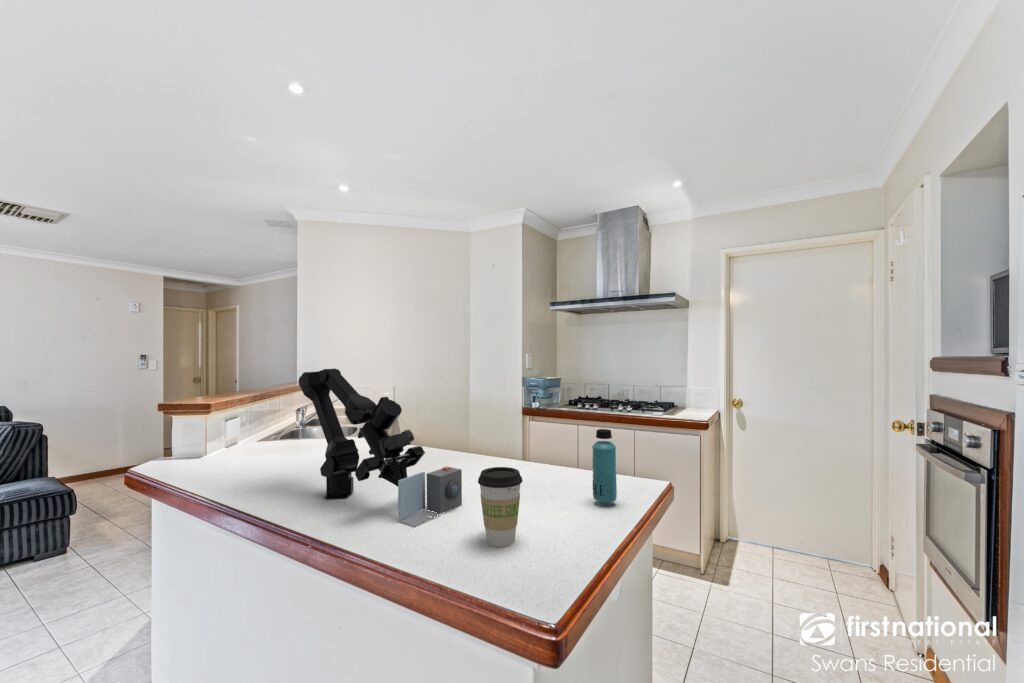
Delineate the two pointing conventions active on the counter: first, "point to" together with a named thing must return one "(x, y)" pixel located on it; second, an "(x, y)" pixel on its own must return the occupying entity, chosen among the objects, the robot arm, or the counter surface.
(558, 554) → the counter surface
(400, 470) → the robot arm
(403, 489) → the side door
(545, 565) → the counter surface
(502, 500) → the coffee cup
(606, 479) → the beverage bottle
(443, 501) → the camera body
